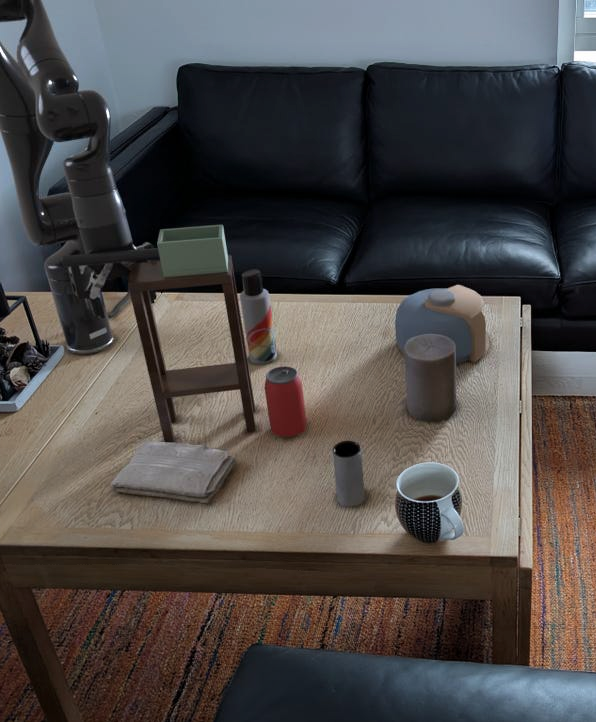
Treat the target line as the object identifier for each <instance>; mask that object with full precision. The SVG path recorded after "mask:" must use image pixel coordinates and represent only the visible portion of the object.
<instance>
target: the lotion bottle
mask: <svg viewBox="0 0 596 722" xmlns="http://www.w3.org/2000/svg"><path fill="white" fill-rule="evenodd" d="M241 280H242V286H243V287H242V288H243V290H242V291H241V292H240V294H239V298H240V301H239V302H240V306H241V313H242V319H243V325H244V326H243V327H244V332H245V333H244V334H245V339H246V345H247V346H246V347H247V352H248V357H249V361H251V363H254V364H257V365H265V364H270V363H271V362H274V361H275V360H276V358H277V356H278V354H277V345H276V338H275V329H274V322H273V321H274V320H273V314H272V307H271V306H272V305H271V301H270V300H271V299H270V293H269V291H268V290H267V289H265V288H264V284H263V277H262V271H260V270H259V269H256V268H252V269H248V270H246V271H244V272H243V273H242V274H241Z"/></svg>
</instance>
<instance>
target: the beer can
mask: <svg viewBox="0 0 596 722" xmlns="http://www.w3.org/2000/svg"><path fill="white" fill-rule="evenodd" d="M264 393H265V394H264V395H265V401H266V407H267V413H268V421H269V428H270V431H271V433H272V434H273V435H275V436H276V437H279V438H285V439H286V438H294V437H297V436H299V435H301V434H302V433H303V432H304V431H305V430H306V429H307V425H308V422H307V414H306V405H305V398H304V397H305V396H304V389H303V381H302V380H301V377H300V376H299V372H298V370H297V369H295V368H294V367H291V366H287V365H286V366H277V367H274V368H272V369H270V370H269V371H268V372H267V373H266V375H265V380H264Z"/></svg>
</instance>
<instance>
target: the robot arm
mask: <svg viewBox="0 0 596 722" xmlns="http://www.w3.org/2000/svg"><path fill="white" fill-rule="evenodd" d="M25 20H26V21H25ZM20 21H25V22H26V23H25V26H24V29H23V30H22V33H21V35H20V37H19V39H18V41H17V46H16V59H15V58H14V57H13V56H12V54H11V53H10V52H9V51H8V50H7V48H6V47H5V46H4V44H3V43H2V41H0V136H1V138H2V142H3V144H4V149H5V151H6V154H7V158H8V162H9V165H10V168H11V172H12V173H11V174H12V177H13V183H14V186H15V187H14V188H15V193H16V197H17V202H18V203H17V204H18V210H19V213H20V217H21V222H22V225H23V229H24V232H25V235H26V236H27V238H28V240H29V242H30V243H31V244H32V246H35V247H39V248H43V247H50V246H54V245H57V244H63V243H64V245H63V246H62V247H60V249H59V250H57V251H56V252H54V253H53V254H51V255H50V256H48V258H46V259H45V261H44V271H45V274H46V278H47V282H48V285H49V288H50V291H51V296H52V298H53V301H54V305H55V308H56V312H57V315H58V319H59V323H60V326H61V330H62V333H63V337H64V340H65V346H66V349H67V351H68V352H70V353H71V354H76V355H91V354H96V353H99V352H102V351H104V350H106V349H108V348H109V347H111V346H112V345H113V343H114V342H115V338H114V334H113V332H112V328H111V323H110V320H109V318H112V317H114V316H115V315H116V314H117V313H118V311H119V310H120V308H121V307H123V305H124V304H125V303H126V302H128V300H129V299H131V296H130V291H129V288H128V290H127V293H126V294H125V296H124V297H122V299H121V300H120V301H119V302H118V303H117V304H116V305H115V306H114V307H113V309H112V310H111V311H110V312H108V311H107V310H108V309H107V307H106V304H105V300H104V296H103V292H102V288H103V287H104V286H105V283H106V281H114V280H116V279H118V278H125V277H129V275H130V273H131V269H132V265H133V263H137V261H133V262H121V263H110V264H98V265H86V266H74V267H64V266H63V264H62V256H69V255H82V254H94V253H106V252H118V251H130V250H142V249H154V248H155V246H154V245H153V244H152V243H150V242H148V241H144V242H143V243H142V245H138V246H135V245H134V242H133V241H134V240H133V237H132V234H131V229H130V227H129V221H128V219H127V218H128V217H127V212H126V209H125V207H124V203H123V200H122V197H121V194H120V191H119V190H118V185H117V181H116V178H115V175H114V171H113V166H112V162H111V161H112V160H111V127H112V126H111V122H112V120H111V117H112V115H111V110H110V106H109V104H108V102H107V100H106V99H105V98H104V97H103V96H102V94H100V93H99V92H97V91H95V90H93V89H84V90H79V87H80V83H79V82H80V81H79V79H78V76H77V74H76V72H75V70H74V69H73V67H72V65H71V63H70V62H69V60H68V59H67V57H66V55H65V54H64V52H63V50H62V48H61V47H60V44H59V42H58V40H57V37H56V35H55V32H54V29H53V26H52V23H51V20H50V18H49V16H48V12H47V10H46V8H45V6H44V2H43V0H0V23H10V22H20ZM84 139H88V144H87V146H86V147H85V148H84V149H83V150H82V151H80V152H78V153H75V154H72V155H71V156H69V157H67V158H65V159H64V161H63V163H62V167H63V173H64V176H65V179H66V182H67V183H66V184H67V185H68V190H69V192H61V193H57V194H52V195H48V196H47V195H46V196H43V197H40V180H41V175H42V172H43V170H44V168H45V164H46V162H47V160H48V158H49V155H50V153H51V151H52V149H53V145H54V144H55V143H65V142H71V141H77V140H78V141H79V140H84ZM154 261H160V259H156V260H146V262H154ZM149 293H150V297H151V302H152V305H154V304H155V300H157V293H156V290H151V291H149Z"/></svg>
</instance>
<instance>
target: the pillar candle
mask: <svg viewBox="0 0 596 722" xmlns="http://www.w3.org/2000/svg"><path fill="white" fill-rule="evenodd" d="M403 354H404V370H405V371H404V372H405V373H404V374H405V397H406V398H405V399H406V409H407V411H408V413H409V415H410V416H412V417H413V418H414V419H417V420H419V421H425V422H437V421H441V420H443V419H446V418H449V417H451V416H452V415H454V413H455V412H456V410H457V363H456V346H455V343H454V342H453V341H452V340H451V339H450V338H448V337H446V336H443V335H437V334H424V335H419V336H416V337H413V338H411V339H409V340H408V341H407V342H406V344H405V345H404V353H403Z"/></svg>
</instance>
